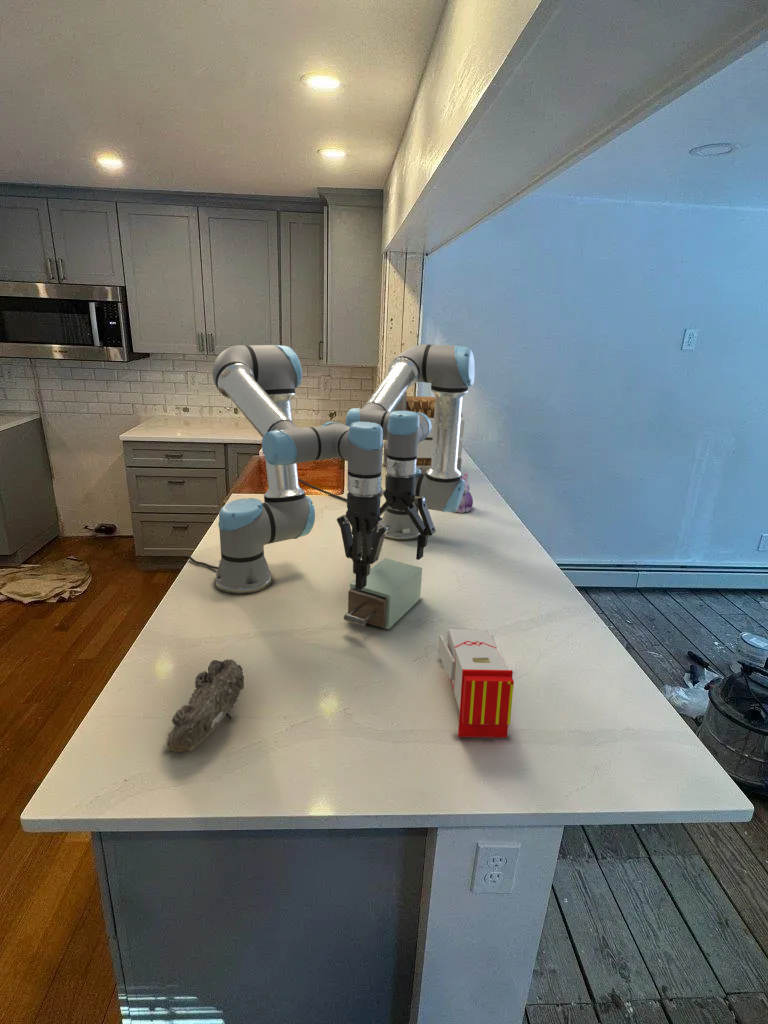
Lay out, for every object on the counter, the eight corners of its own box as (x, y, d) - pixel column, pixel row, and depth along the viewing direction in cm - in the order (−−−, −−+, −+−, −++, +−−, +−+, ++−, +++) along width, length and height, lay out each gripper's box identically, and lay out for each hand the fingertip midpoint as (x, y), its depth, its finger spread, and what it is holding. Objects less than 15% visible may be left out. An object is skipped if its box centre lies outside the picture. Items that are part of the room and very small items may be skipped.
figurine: (459, 514, 221) (463, 477, 216) (445, 506, 229) (448, 470, 224) (479, 511, 225) (483, 475, 220) (464, 503, 234) (467, 468, 228)
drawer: (371, 639, 134) (372, 611, 131) (335, 627, 138) (335, 600, 136) (413, 600, 153) (415, 575, 150) (380, 590, 157) (381, 565, 155)
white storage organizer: (382, 463, 289) (386, 382, 275) (445, 464, 293) (451, 384, 279) (390, 482, 257) (394, 392, 243) (460, 483, 261) (468, 394, 247)
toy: (488, 613, 130) (523, 677, 101) (484, 667, 133) (517, 744, 104) (435, 612, 130) (455, 676, 101) (432, 666, 133) (451, 743, 103)
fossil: (192, 660, 117) (244, 628, 112) (224, 691, 120) (276, 661, 115) (142, 746, 98) (202, 712, 93) (182, 779, 101) (242, 748, 96)
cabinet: (388, 629, 140) (390, 595, 137) (349, 616, 145) (350, 583, 142) (420, 599, 156) (422, 567, 152) (383, 588, 161) (385, 557, 157)
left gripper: (330, 491, 126) (329, 586, 134) (381, 502, 121) (377, 600, 129) (348, 483, 133) (346, 574, 141) (397, 493, 127) (392, 587, 135)
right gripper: (350, 469, 144) (348, 545, 151) (440, 486, 133) (434, 568, 140) (365, 463, 150) (362, 537, 157) (452, 479, 140) (445, 558, 147)
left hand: (360, 586), depth 135 cm, fingers closed
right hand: (396, 552), depth 149 cm, fingers open, 13 cm apart
